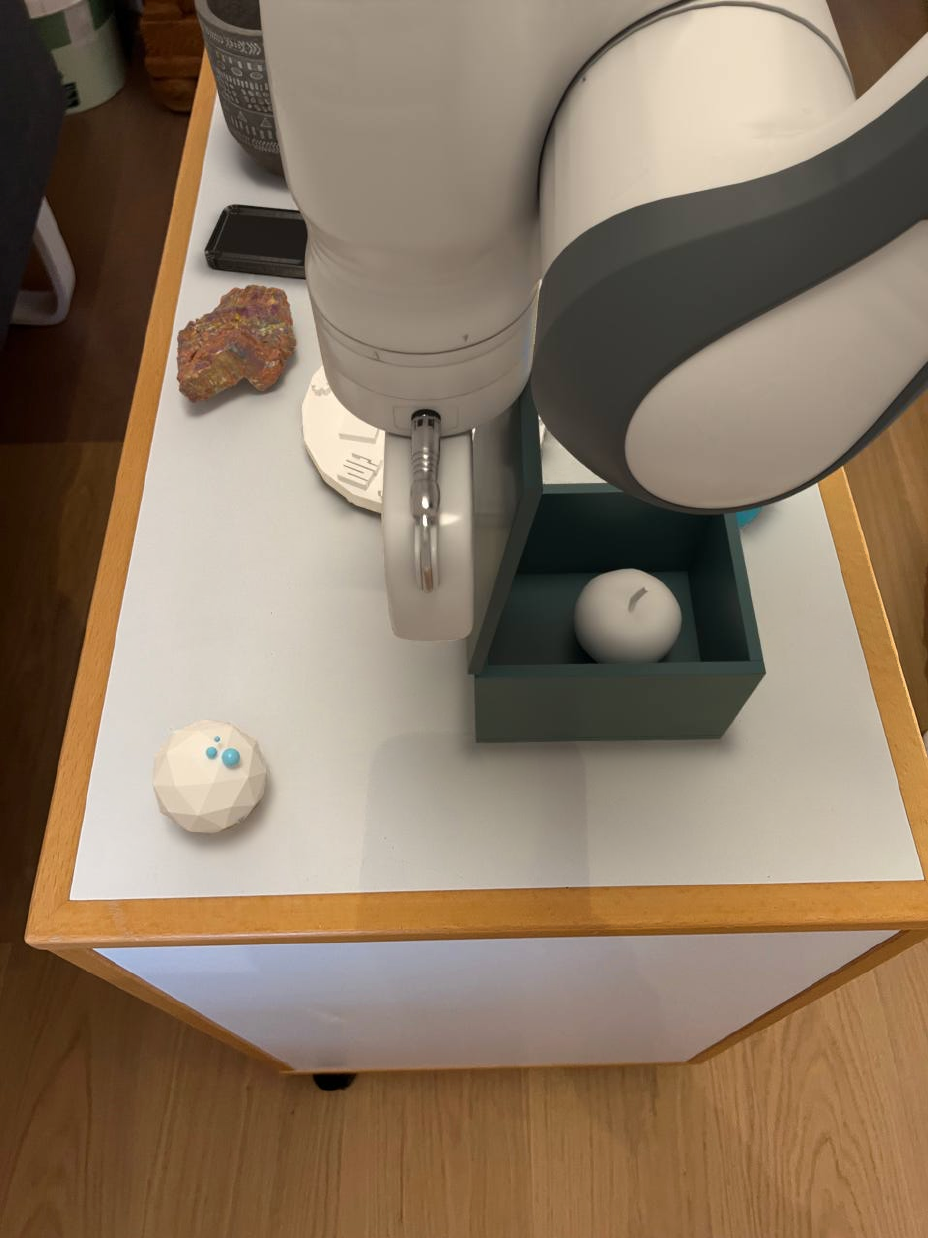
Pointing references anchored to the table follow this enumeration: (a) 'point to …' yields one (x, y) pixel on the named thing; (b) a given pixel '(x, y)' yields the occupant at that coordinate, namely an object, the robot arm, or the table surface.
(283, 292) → the mineral specimen
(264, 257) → the phone
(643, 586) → the plain white apple
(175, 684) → the table surface
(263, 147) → the planter
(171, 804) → the ornament
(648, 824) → the table surface
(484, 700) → the chest
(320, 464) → the giant coin
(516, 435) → the lid
